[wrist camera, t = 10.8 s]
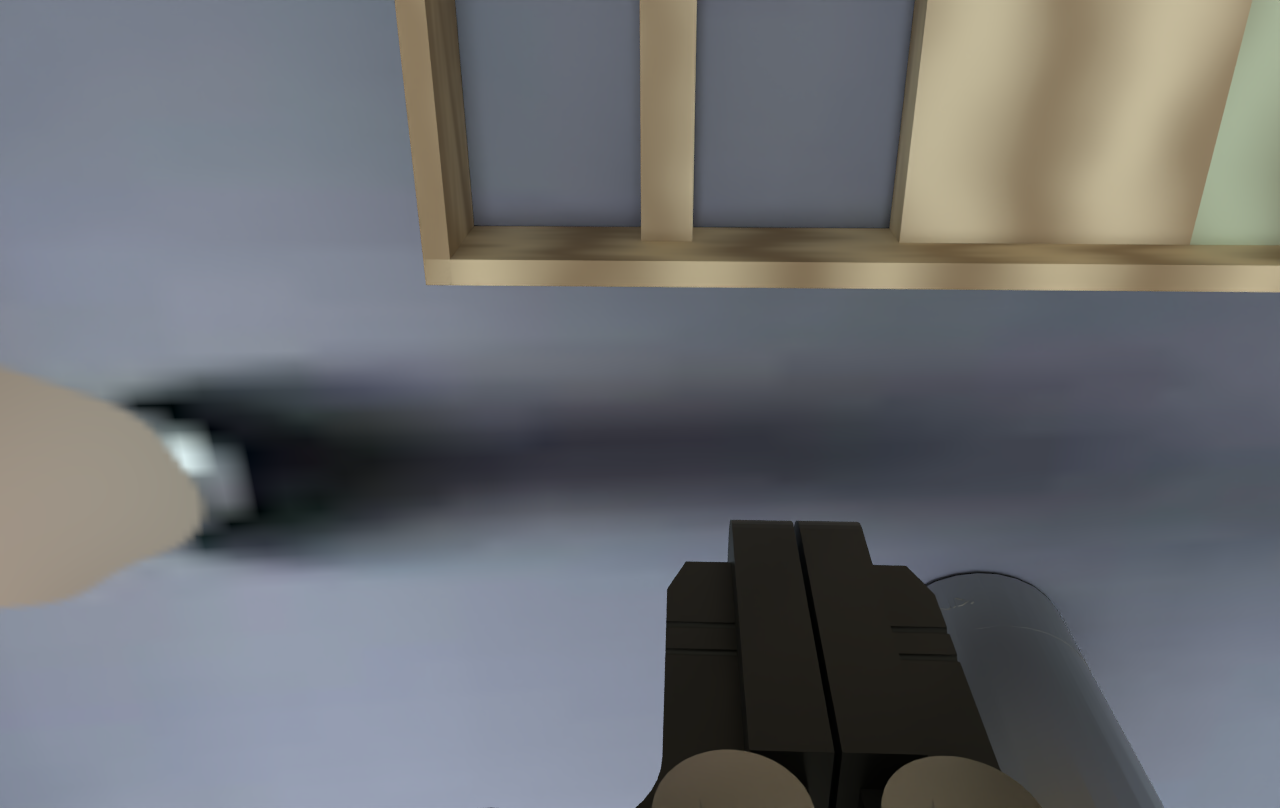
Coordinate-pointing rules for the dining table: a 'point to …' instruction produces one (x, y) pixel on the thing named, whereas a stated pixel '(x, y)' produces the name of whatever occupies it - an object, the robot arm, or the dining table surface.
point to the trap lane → (932, 160)
